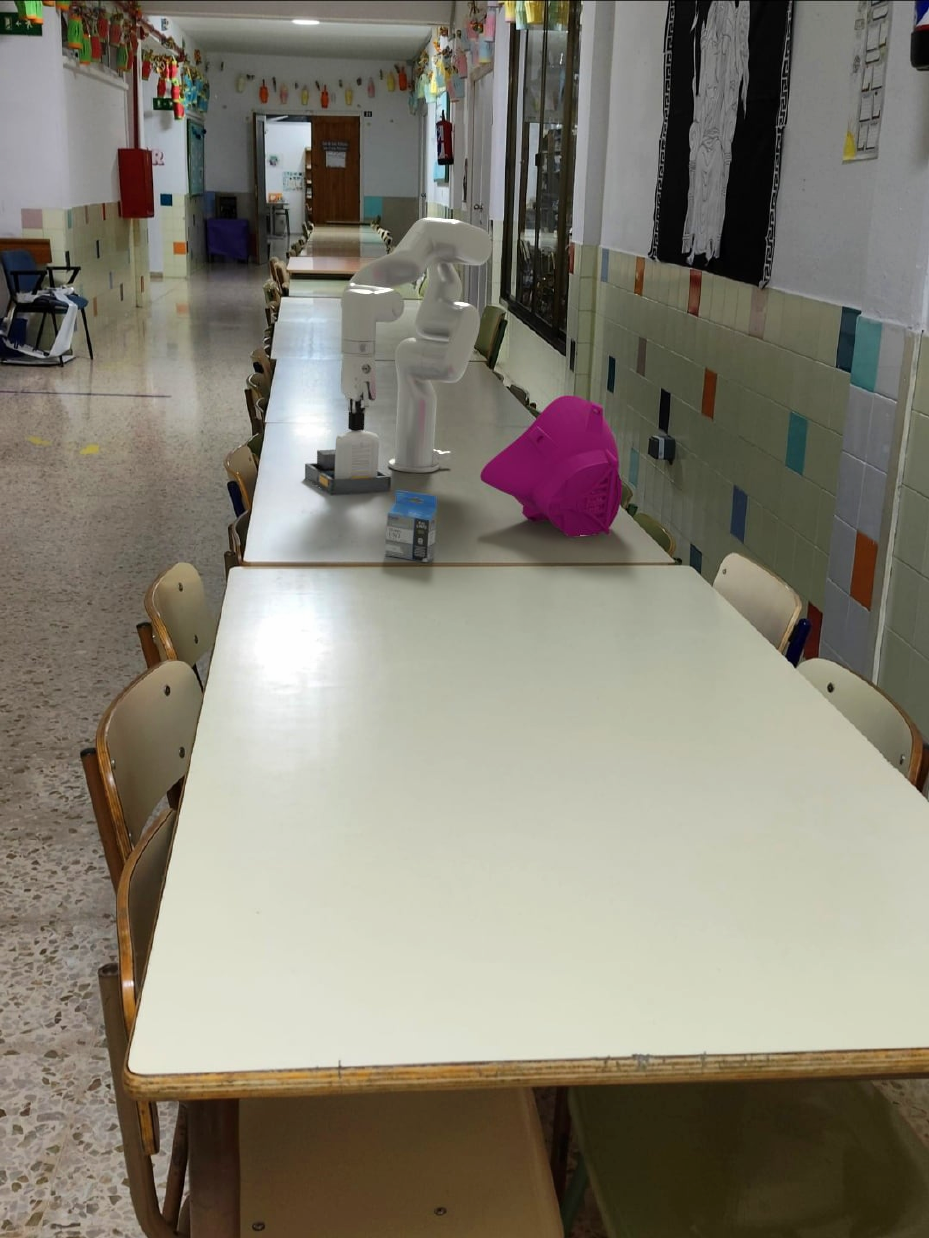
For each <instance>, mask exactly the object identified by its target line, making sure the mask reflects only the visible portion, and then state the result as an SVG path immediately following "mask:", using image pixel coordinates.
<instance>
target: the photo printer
mask: <svg viewBox="0 0 929 1238" xmlns="http://www.w3.org/2000/svg"><path fill="white" fill-rule="evenodd" d="M379 449H380V440H379V437H378V435H377V433H374V432H371V431H367V430H359V431H352V430H350V431H346V432H343V433H341V434H339V435H337V436H336V439H335V449H334V450H335V478H334V479H345V478H350V477H357V476H372V477H377V472H378V468H379Z"/></svg>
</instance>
